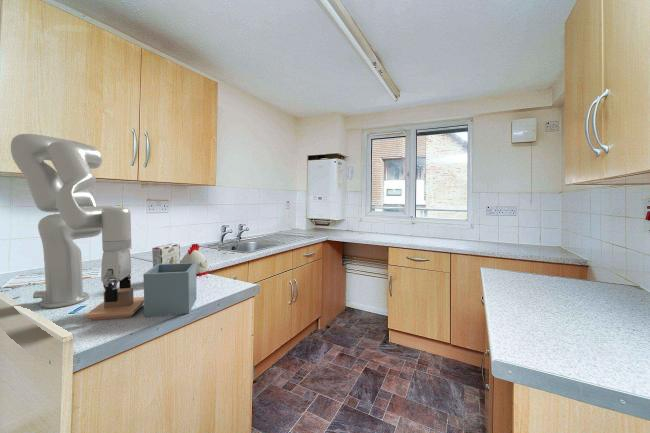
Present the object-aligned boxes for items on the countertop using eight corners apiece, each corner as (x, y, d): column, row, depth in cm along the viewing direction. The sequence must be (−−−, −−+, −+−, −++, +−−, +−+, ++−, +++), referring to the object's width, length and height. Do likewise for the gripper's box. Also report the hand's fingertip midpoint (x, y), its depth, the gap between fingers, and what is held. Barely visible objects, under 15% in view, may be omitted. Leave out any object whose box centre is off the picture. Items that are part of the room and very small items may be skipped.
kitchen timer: (214, 270, 140) (214, 242, 139) (198, 278, 127) (198, 247, 125) (189, 269, 142) (189, 241, 141) (171, 276, 128) (171, 245, 127)
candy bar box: (171, 277, 127) (171, 243, 126) (181, 278, 126) (180, 243, 125) (152, 284, 116) (151, 247, 115) (162, 285, 115) (161, 248, 114)
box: (144, 317, 86) (143, 274, 85) (157, 301, 98) (157, 264, 97) (189, 313, 89) (188, 272, 88) (196, 298, 102) (196, 262, 101)
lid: (85, 322, 82) (84, 298, 81) (106, 306, 94) (106, 285, 93) (133, 318, 85) (132, 295, 85) (147, 303, 97) (147, 283, 97)
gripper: (116, 241, 95) (117, 288, 96) (88, 250, 78) (90, 307, 80) (140, 240, 97) (141, 286, 98) (118, 250, 80) (119, 305, 82)
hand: (118, 296), depth 89 cm, fingers open, 9 cm apart
